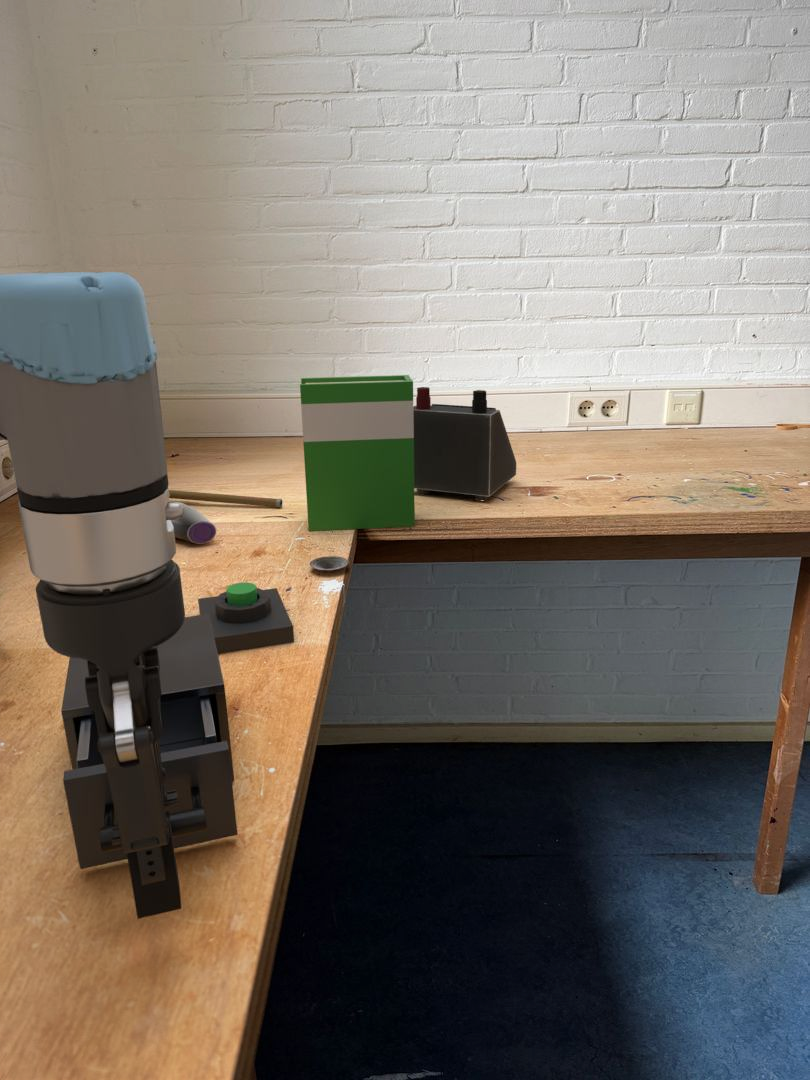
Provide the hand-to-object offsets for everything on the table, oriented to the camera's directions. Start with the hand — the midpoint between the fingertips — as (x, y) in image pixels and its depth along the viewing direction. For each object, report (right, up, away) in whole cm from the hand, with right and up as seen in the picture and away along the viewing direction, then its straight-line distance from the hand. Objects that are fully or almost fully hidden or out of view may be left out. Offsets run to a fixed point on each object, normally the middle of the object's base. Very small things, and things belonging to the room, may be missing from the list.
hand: (159, 905), depth 52 cm
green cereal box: (+8, +27, +84) cm, 89 cm away
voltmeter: (+27, +34, +103) cm, 112 cm away
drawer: (-4, +2, +12) cm, 13 cm away
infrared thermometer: (-23, +23, +75) cm, 82 cm away
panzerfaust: (-24, +30, +96) cm, 103 cm away
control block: (-4, +13, +46) cm, 48 cm away
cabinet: (-7, +4, +22) cm, 24 cm away
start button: (-4, +16, +45) cm, 48 cm away
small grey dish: (+5, +19, +64) cm, 67 cm away
